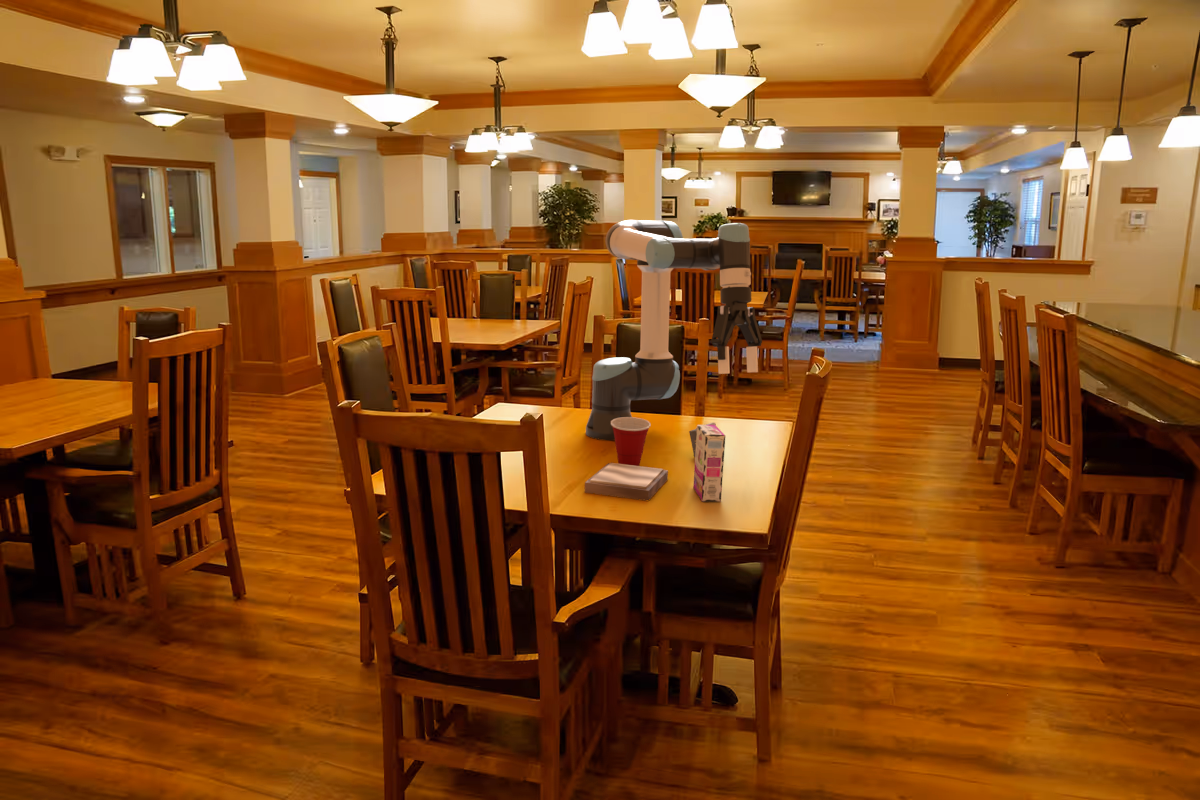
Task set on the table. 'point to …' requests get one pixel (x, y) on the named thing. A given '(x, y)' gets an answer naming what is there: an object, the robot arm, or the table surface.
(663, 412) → the table surface
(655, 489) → the pale flat square slab
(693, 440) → the electrical switch
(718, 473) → the candy bar box
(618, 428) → the plastic cup
